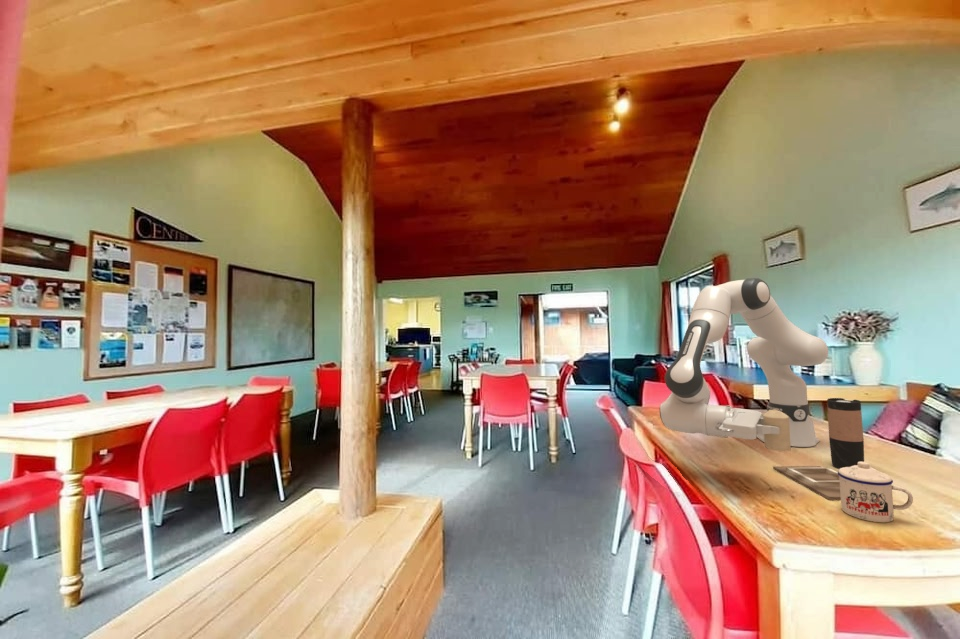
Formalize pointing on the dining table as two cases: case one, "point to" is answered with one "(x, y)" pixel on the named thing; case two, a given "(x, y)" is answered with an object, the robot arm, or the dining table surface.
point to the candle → (783, 438)
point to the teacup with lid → (869, 493)
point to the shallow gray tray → (814, 479)
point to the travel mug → (845, 432)
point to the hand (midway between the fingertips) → (780, 427)
